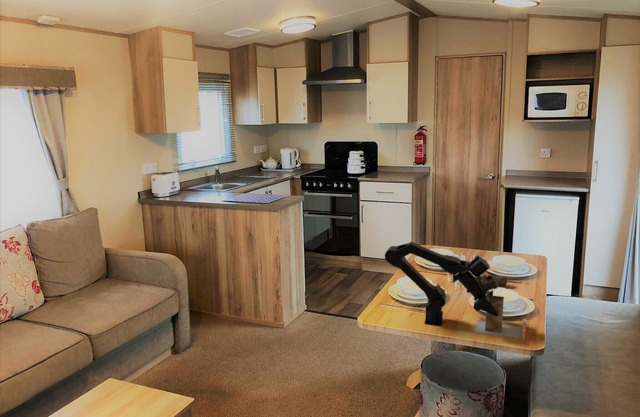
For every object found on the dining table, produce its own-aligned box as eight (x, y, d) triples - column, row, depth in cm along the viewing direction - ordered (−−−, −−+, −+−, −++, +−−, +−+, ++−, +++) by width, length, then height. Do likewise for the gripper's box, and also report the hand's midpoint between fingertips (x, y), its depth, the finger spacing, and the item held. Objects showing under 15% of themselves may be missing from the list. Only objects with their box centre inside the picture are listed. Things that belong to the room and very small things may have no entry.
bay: (473, 333, 204) (474, 323, 203) (477, 321, 215) (477, 312, 214) (525, 340, 196) (525, 331, 196) (525, 328, 207) (526, 318, 206)
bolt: (475, 285, 261) (506, 289, 253) (473, 283, 257) (504, 287, 249) (477, 274, 262) (507, 277, 254) (474, 271, 258) (505, 275, 250)
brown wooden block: (485, 330, 205) (486, 300, 202) (486, 324, 210) (488, 294, 208) (501, 333, 203) (502, 302, 200) (502, 326, 208) (503, 296, 205)
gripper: (483, 279, 195) (513, 310, 193) (488, 264, 211) (515, 292, 209) (461, 295, 199) (490, 326, 197) (468, 280, 216) (494, 308, 214)
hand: (498, 312), depth 204 cm, fingers closed on brown wooden block, 6 cm apart
